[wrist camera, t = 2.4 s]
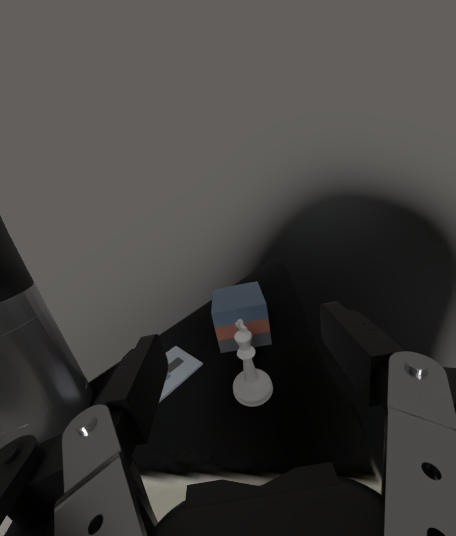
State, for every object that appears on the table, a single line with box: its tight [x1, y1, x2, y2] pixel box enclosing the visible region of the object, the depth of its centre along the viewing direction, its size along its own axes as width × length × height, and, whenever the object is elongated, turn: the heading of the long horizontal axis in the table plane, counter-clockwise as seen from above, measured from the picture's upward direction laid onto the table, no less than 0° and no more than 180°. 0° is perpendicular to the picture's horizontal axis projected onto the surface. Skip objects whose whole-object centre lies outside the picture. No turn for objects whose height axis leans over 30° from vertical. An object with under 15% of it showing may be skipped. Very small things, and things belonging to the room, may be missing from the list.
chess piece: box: [233, 319, 273, 407], centre depth 25 cm, size 5×5×10 cm
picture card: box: [159, 346, 203, 403], centre depth 31 cm, size 10×7×1 cm
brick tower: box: [211, 282, 272, 353], centre depth 36 cm, size 8×8×7 cm
